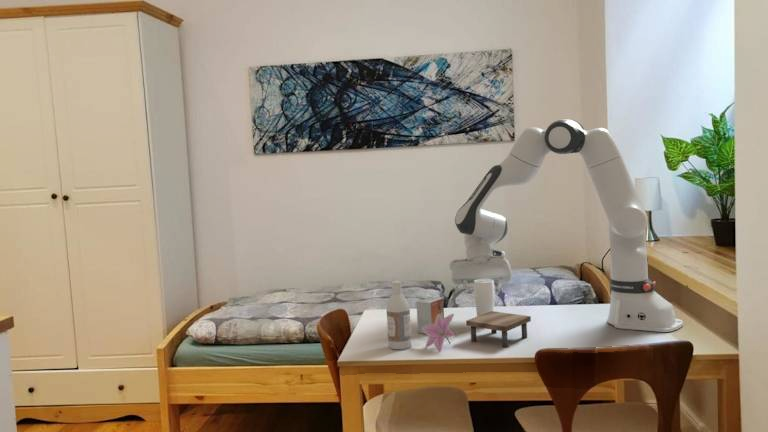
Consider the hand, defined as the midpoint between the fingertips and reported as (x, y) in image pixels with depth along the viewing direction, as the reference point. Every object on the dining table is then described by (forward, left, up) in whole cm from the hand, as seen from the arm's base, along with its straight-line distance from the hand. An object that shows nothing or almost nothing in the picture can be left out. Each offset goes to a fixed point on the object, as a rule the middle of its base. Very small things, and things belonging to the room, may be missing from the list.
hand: (483, 292), depth 223 cm
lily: (-4, +29, -11) cm, 31 cm away
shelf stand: (-14, +14, -11) cm, 23 cm away
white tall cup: (-1, +2, -11) cm, 11 cm away
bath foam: (+7, +36, -11) cm, 38 cm away
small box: (+10, +17, -11) cm, 22 cm away
